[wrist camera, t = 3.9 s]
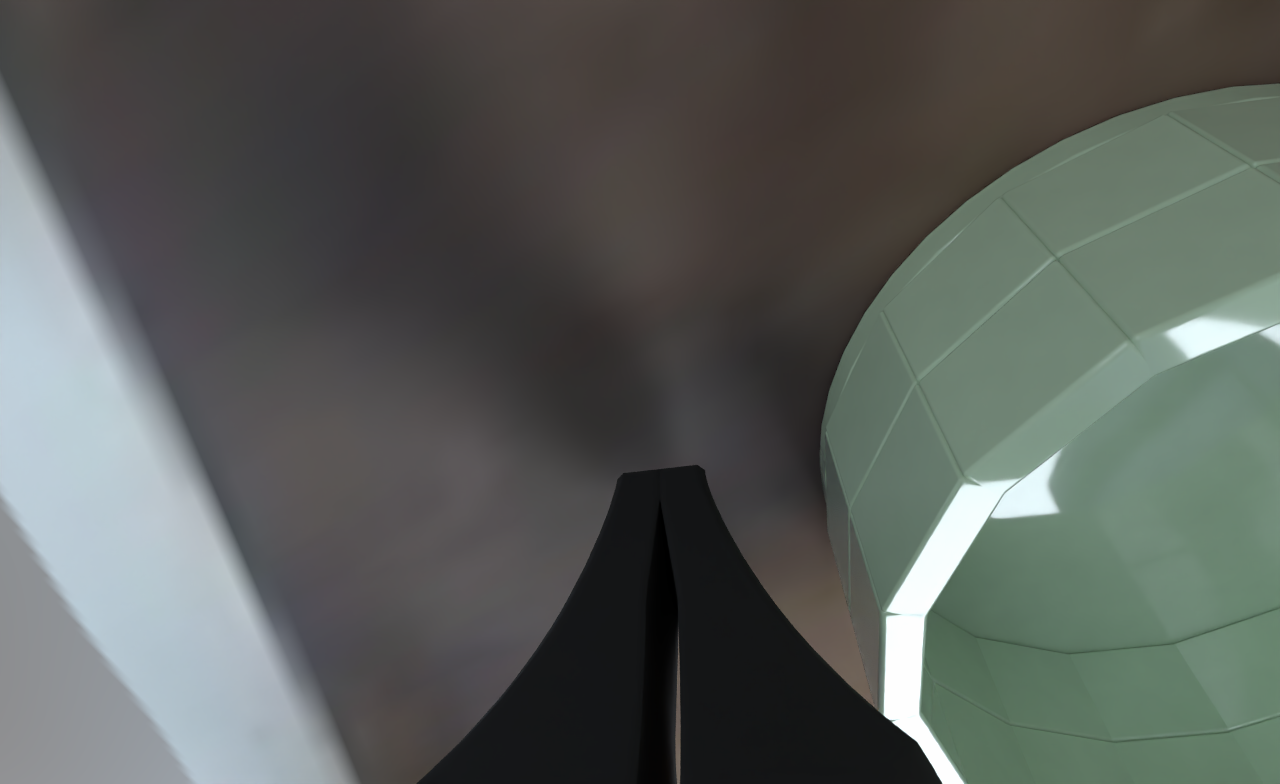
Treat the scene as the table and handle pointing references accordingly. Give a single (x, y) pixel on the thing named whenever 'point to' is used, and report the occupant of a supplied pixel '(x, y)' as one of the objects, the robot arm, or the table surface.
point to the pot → (1078, 462)
